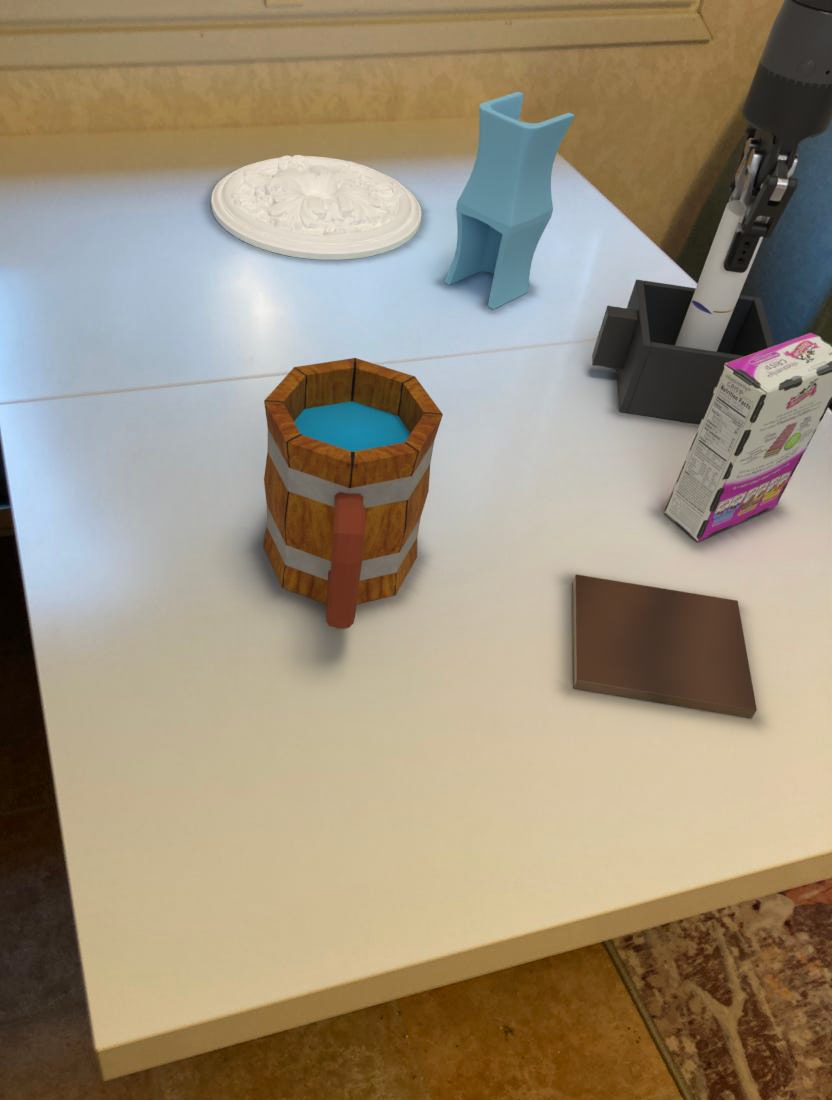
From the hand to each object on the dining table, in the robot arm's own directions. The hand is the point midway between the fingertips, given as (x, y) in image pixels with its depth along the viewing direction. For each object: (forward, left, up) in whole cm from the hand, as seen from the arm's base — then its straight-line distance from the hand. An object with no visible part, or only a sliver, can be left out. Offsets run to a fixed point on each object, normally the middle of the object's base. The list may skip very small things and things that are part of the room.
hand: (730, 257), depth 92 cm
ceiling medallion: (+46, -30, -15) cm, 57 cm away
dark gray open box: (+2, 0, -15) cm, 15 cm away
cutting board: (+5, +40, -15) cm, 43 cm away
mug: (+32, +38, -15) cm, 52 cm away
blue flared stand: (+22, -16, -15) cm, 31 cm away
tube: (0, 0, -10) cm, 10 cm away
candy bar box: (-2, +21, -15) cm, 26 cm away
